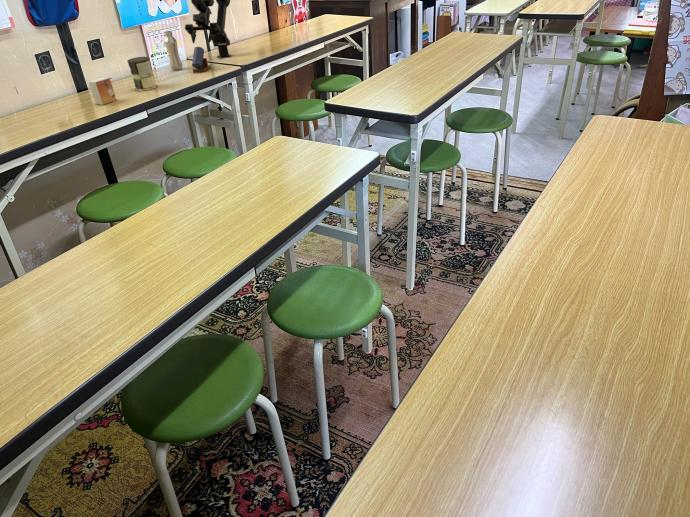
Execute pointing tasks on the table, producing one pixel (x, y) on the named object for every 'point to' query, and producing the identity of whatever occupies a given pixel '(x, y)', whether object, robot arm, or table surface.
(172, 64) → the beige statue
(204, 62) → the stand
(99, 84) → the small box
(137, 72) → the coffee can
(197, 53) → the blue box
